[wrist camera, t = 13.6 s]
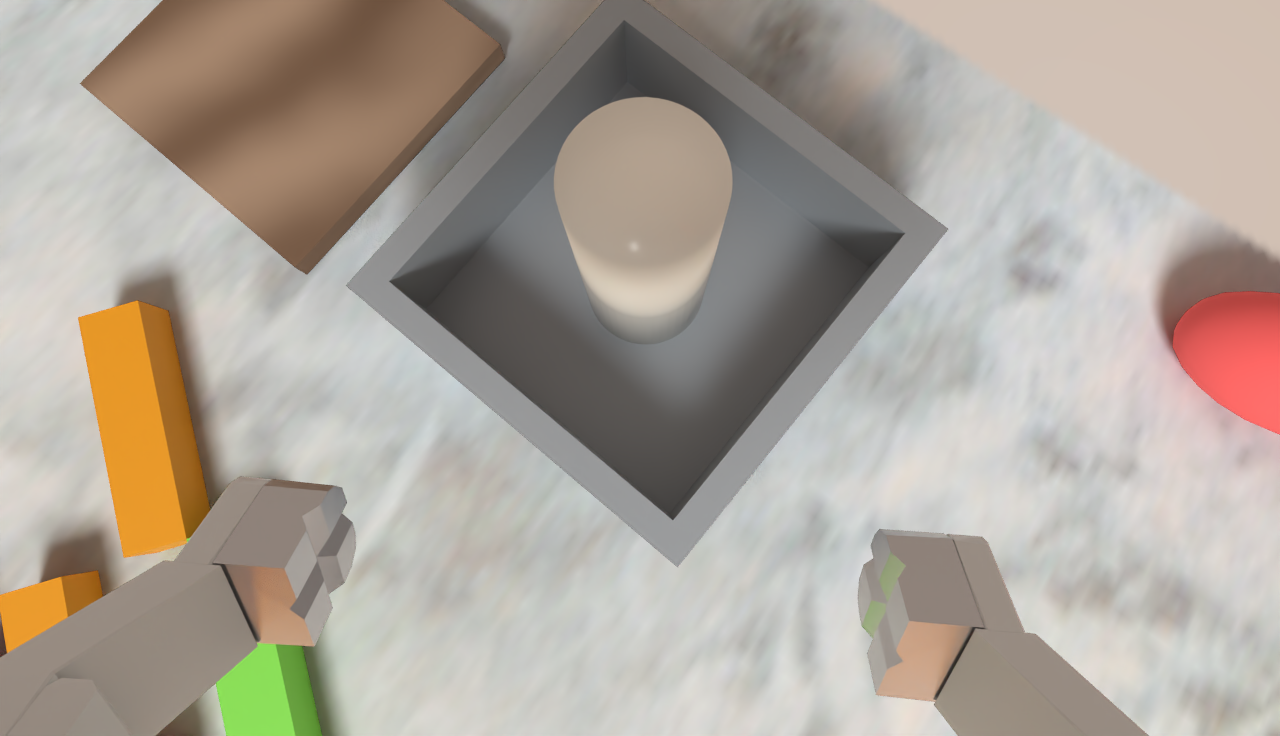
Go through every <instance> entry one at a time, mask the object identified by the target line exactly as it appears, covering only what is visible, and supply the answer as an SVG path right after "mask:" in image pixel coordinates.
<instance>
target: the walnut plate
mask: <svg viewBox="0 0 1280 736" xmlns="http://www.w3.org/2000/svg"><path fill="white" fill-rule="evenodd" d="M504 59H505V57H504V54H503V51H502V48H501V45H500V44H499V43H498V42H497V41H495V40H494V39H493V38H491V37H490V36H489V35H488V34H486V33H485V32H484V31H482V30H481V29H480V28H479V27H477V26H476V25H475V24H473V23H472V22H471V21H470V20H468V19H467V18H466V17H465V16H463V15H462V14H461V13H459V12H458V11H457V10H456V9H454V8H453V7H452V6H450V5H449V4H448V3H447V2H445V1H444V0H163V1H162V2H161V3H160V4H159V5H158V6H157V7H156V8H155V9H154V10H153V11H152V12H151V13H150V14H149V15H148V16H147V17H146V18H145V19H144V20H143V21H142V22H141V23H140V24H139V25H138V26H137V27H136V28H135V29H134V30H133V31H132V32H131V33H130V34H129V35H128V36H127V37H126V38H125V39H124V40H123V41H122V42H121V43H120V44H119V45H118V46H117V47H116V48H115V49H114V50H113V51H112V52H111V53H110V54H109V55H108V56H107V57H106V58H105V59H104V60H103V61H102V62H101V63H100V64H99V65H98V66H97V67H96V68H95V69H94V70H93V71H92V72H91V73H90V74H89V75H88V76H87V77H86V78H85V79H84V80H83V81H82V82H81V83H80V84H81V85H82V86H83V87H84V88H86V89H87V90H88V91H89V92H90V93H92V94H93V95H94V96H95V97H96V98H97V99H99V100H100V101H101V102H102V103H103V104H104V105H106V106H107V107H108V108H109V109H110V110H111V111H113V112H114V113H115V114H116V115H117V116H118V117H120V118H121V119H122V120H123V121H124V122H125V123H127V124H128V125H129V126H130V127H131V128H132V129H134V130H135V131H136V132H137V133H138V134H140V135H141V136H142V137H143V138H144V139H145V140H147V141H148V142H149V143H150V144H151V145H152V146H154V147H155V148H156V149H157V150H158V151H159V152H161V153H162V154H163V155H164V156H165V157H166V158H168V159H169V160H170V161H171V162H172V163H173V164H175V165H176V166H177V167H178V168H179V169H180V170H182V171H183V172H184V173H185V174H186V175H188V176H189V177H190V178H191V179H192V180H193V181H195V182H196V183H197V184H198V185H199V186H200V187H202V188H203V189H204V190H205V191H206V192H207V193H209V194H210V195H211V196H212V197H213V198H214V199H216V200H217V201H218V202H219V203H220V204H221V205H223V206H224V207H225V208H226V209H227V210H228V211H230V212H231V213H232V214H233V215H234V216H235V217H237V218H238V219H239V220H240V221H241V222H243V223H244V224H245V225H246V226H247V227H248V228H250V229H251V230H252V231H253V232H254V233H255V234H257V235H258V236H259V237H260V238H261V239H262V240H264V241H265V242H266V243H267V244H268V245H269V246H271V247H272V248H273V249H274V250H275V251H276V252H278V253H279V254H280V255H281V256H282V257H283V258H285V259H286V260H287V261H288V262H289V263H291V264H292V265H293V266H294V267H295V268H297V269H299V270H300V271H302V272H304V273H305V274H308V273H309V272H310V271H311V270H312V269H313V268H314V266H315V265H316V264H317V263H318V262H319V261H320V260H321V259H322V258H323V257H324V256H325V254H326V253H327V252H328V251H329V250H330V249H331V248H332V247H333V246H334V245H335V244H336V242H337V241H338V240H339V239H340V238H341V237H342V236H343V235H344V234H345V233H346V232H347V230H348V229H349V228H350V227H351V226H352V225H353V224H354V223H355V222H356V221H357V220H358V218H359V217H360V216H361V215H362V214H363V213H364V212H365V211H366V210H367V209H368V208H369V206H370V205H371V204H372V203H373V202H374V201H375V200H376V199H377V198H378V197H379V196H380V194H381V193H382V192H383V191H384V190H385V189H386V188H387V187H388V186H389V185H390V183H391V182H392V181H393V180H394V179H395V178H396V177H397V176H398V175H399V174H400V173H401V171H402V170H403V169H404V168H405V167H406V166H407V165H408V164H409V163H410V162H411V161H412V159H413V158H414V157H415V156H416V155H417V154H418V153H419V152H420V151H421V150H422V149H423V147H424V146H425V145H426V144H427V143H428V142H429V141H430V140H431V139H432V138H433V137H434V135H435V134H436V133H437V132H438V131H439V130H440V129H441V128H442V127H443V126H444V125H445V123H446V122H447V121H448V120H449V119H450V118H451V117H452V116H453V115H454V114H455V113H456V111H457V110H458V109H459V108H460V107H461V106H462V105H463V104H464V103H465V102H466V101H467V99H468V98H469V97H470V96H471V95H472V94H473V93H474V92H475V91H476V90H477V88H478V87H479V86H480V85H481V84H482V83H483V82H484V81H485V80H486V79H487V78H488V76H489V75H490V74H491V73H492V72H493V71H494V70H495V69H496V68H497V67H498V66H499V64H500V63H501V62H502V61H503V60H504Z"/></svg>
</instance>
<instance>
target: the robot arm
mask: <svg viewBox="0 0 1280 736" xmlns="http://www.w3.org/2000/svg"><path fill="white" fill-rule="evenodd" d="M346 504H347V501H346V498H345V495H344V492H343V489H342V488H341V487H338V486H332V485H322V484H313V483H304V482H294V481H285V480H276V479H262V478H252V477H242V476H240V477H239V478H237V479H236V480H234V481H232V482H231V483H230V484H229V485H228V486H227V488H226V489H225V491H224V492H223V493H222V495H221V496H220V498H219V499H218V500H217V502H216V503H215V505H214V506H213V507H212V509H211V510H210V511H209V513H208V514H207V516H206V517H205V518H204V520H203V521H202V523H201V524H200V525H199V527H198V528H197V530H196V531H195V532H194V534H193V535H192V536H191V538H190V539H189V541H188V542H187V543H186V545H185V546H184V548H183V549H182V550H181V552H180V553H179V555H178V556H177V557H176V559H175V560H174V561H162V562H161V563H159V564H157V565H155V566H154V567H152V568H150V569H149V570H147V571H145V572H144V573H142V574H140V575H139V576H137V577H135V578H134V579H132V580H130V581H128V582H127V583H125V584H123V585H122V586H120V587H118V588H117V589H115V590H113V591H112V592H110V593H108V594H106V595H105V596H103V597H101V598H100V599H98V600H96V601H95V602H93V603H91V604H90V605H88V606H86V607H84V608H83V609H81V610H79V611H78V612H76V613H74V614H73V615H71V616H69V617H68V618H66V619H64V620H63V621H61V622H59V623H57V624H56V625H54V626H52V627H51V628H49V629H47V630H46V631H44V632H42V633H41V634H39V635H37V636H35V637H34V638H32V639H30V640H29V641H27V642H25V643H24V644H22V645H20V646H19V647H17V648H15V649H14V650H12V651H10V652H8V653H7V654H5V655H3V656H2V657H0V736H155V735H157V734H158V733H159V732H160V731H161V730H162V729H164V728H165V727H166V726H167V725H168V724H169V723H170V722H172V721H173V720H174V719H175V718H176V717H177V716H178V715H180V714H181V713H182V712H183V711H184V710H185V709H187V708H188V707H189V706H190V705H191V704H192V703H193V702H195V701H196V700H197V699H198V698H199V697H200V696H201V695H203V694H204V693H205V692H206V691H207V690H208V689H210V688H211V687H212V686H213V685H214V684H215V683H216V682H218V681H219V680H220V679H221V678H222V677H223V676H224V675H226V674H227V673H228V672H229V671H230V670H231V669H233V668H234V667H235V666H236V665H237V664H238V663H239V662H241V661H242V660H243V659H244V658H245V657H246V656H247V655H249V654H250V653H251V652H252V651H253V650H254V649H256V648H257V647H258V645H257V643H264V644H281V645H298V646H315V644H316V642H317V640H318V638H319V636H320V634H321V632H322V630H323V627H324V625H325V623H326V621H327V619H328V617H329V615H330V613H331V611H332V609H333V607H332V603H331V600H330V597H329V594H330V593H331V592H332V591H334V590H335V589H337V588H338V587H339V586H341V585H342V584H343V583H345V581H346V578H347V576H348V574H349V572H350V569H351V567H352V563H353V558H354V554H355V549H356V535H355V530H354V526H353V523H352V522H351V521H350V520H349V519H348V518H347V517H346V516H344V515H343V514H342V512H343V510H344V508H345V506H346ZM871 549H872V553H873V559H872V560H870V561H869V562H867V563H866V564H864V565H863V569H862V572H861V575H860V578H859V588H858V607H859V615H860V620H861V625H862V627H863V628H864V629H865V630H866V631H867V632H868V634H869V635H870V636H871V637H872V638H873V640H872V642H871V645H870V647H869V650H868V652H867V655H868V659H869V664H870V669H871V674H872V678H873V683H874V688H875V692H876V695H880V696H889V697H898V698H906V699H915V700H924V701H933V702H935V703H934V705H935V707H936V708H937V709H938V711H939V712H940V713H941V714H942V716H943V717H944V718H945V720H946V721H947V722H948V724H949V725H950V726H951V727H952V729H953V730H954V731H955V733H956V734H957V735H958V736H1149V735H1147V734H1146V733H1145V732H1144V731H1143V730H1142V729H1141V728H1140V727H1139V726H1137V725H1136V724H1135V723H1134V722H1133V721H1132V720H1131V719H1130V718H1129V717H1127V716H1126V715H1125V714H1124V713H1123V712H1122V711H1121V710H1120V709H1119V708H1117V707H1116V706H1115V705H1114V704H1113V703H1112V702H1111V701H1110V700H1109V699H1107V698H1106V697H1105V696H1104V695H1103V694H1102V693H1101V692H1100V691H1099V690H1097V689H1096V688H1095V687H1094V686H1093V685H1092V684H1091V683H1090V682H1089V681H1087V680H1086V679H1085V678H1084V677H1083V676H1082V675H1081V674H1080V673H1079V672H1077V671H1076V670H1075V669H1074V668H1073V667H1072V666H1071V665H1070V664H1069V663H1067V662H1066V661H1065V660H1064V659H1063V658H1062V657H1061V656H1060V655H1059V654H1057V653H1056V652H1055V651H1054V650H1053V649H1052V648H1051V647H1050V646H1049V645H1047V644H1046V643H1045V642H1044V641H1043V640H1042V639H1041V638H1040V637H1039V636H1037V635H1036V634H1032V633H1025V631H1024V629H1023V626H1022V624H1021V621H1020V619H1019V617H1018V614H1017V612H1016V609H1015V607H1014V605H1013V602H1012V600H1011V597H1010V595H1009V592H1008V590H1007V588H1006V585H1005V583H1004V580H1003V578H1002V576H1001V573H1000V571H999V568H998V566H997V563H996V561H995V559H994V556H993V554H992V551H991V549H990V547H989V544H988V542H987V541H986V540H985V539H984V538H983V537H978V536H965V535H952V534H947V535H945V534H944V533H929V532H915V531H900V530H886V529H879V530H878V532H877V533H876V534H875V535H874V538H873V541H872V543H871Z"/></svg>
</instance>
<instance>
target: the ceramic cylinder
mask: <svg viewBox="0 0 1280 736" xmlns="http://www.w3.org/2000/svg"><path fill="white" fill-rule="evenodd" d="M732 185H733V180H732V169H731V163H730V159H729V156H728V153H727V150H726V148H725V146H724V144H723V142H722V140H721V139H720V137H719V136H718V134H717V133H716V131H715V130H714V129H713V128H712V127H711V126H710V125H709V124H708V123H707V122H706V121H705V120H704V119H703V118H702V117H701V116H699V115H698V114H696V113H695V112H693V111H692V110H690V109H688V108H686V107H684V106H682V105H680V104H678V103H675V102H672V101H669V100H664V99H660V98H651V97H635V98H628V99H623V100H619V101H615V102H612V103H610V104H607V105H605V106H603V107H601V108H599V109H597V110H595V111H594V112H592V113H591V114H589V115H588V116H587V117H585V118H584V119H583V120H582V121H581V122H580V123H579V124H578V125H577V126H576V127H575V128H574V129H573V130H572V132H571V133H570V134H569V136H568V137H567V139H566V141H565V142H564V144H563V146H562V148H561V150H560V153H559V155H558V158H557V162H556V166H555V172H554V192H555V199H556V203H557V206H558V210H559V213H560V216H561V219H562V222H563V225H564V227H565V230H566V233H567V236H568V239H569V242H570V245H571V248H572V251H573V254H574V257H575V260H576V263H577V266H578V269H579V272H580V275H581V278H582V281H583V283H584V286H585V289H586V292H587V295H588V298H589V301H590V304H591V307H592V309H593V312H594V314H595V316H596V317H597V319H598V320H599V322H600V323H601V324H602V325H603V326H604V327H605V328H606V329H607V330H608V331H609V332H610V333H612V334H613V335H615V336H616V337H618V338H620V339H622V340H625V341H627V342H631V343H635V344H656V343H661V342H664V341H667V340H669V339H672V338H674V337H675V336H677V335H679V334H680V333H681V332H683V331H684V330H685V329H686V328H687V327H688V326H689V325H690V324H691V323H692V321H693V320H694V319H695V317H696V315H697V313H698V312H699V309H700V307H701V304H702V300H703V297H704V293H705V289H706V286H707V282H708V279H709V275H710V272H711V268H712V264H713V261H714V257H715V254H716V250H717V247H718V243H719V239H720V236H721V232H722V229H723V225H724V221H725V218H726V214H727V211H728V207H729V203H730V199H731V195H732Z"/></svg>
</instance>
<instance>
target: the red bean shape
mask: <svg viewBox="0 0 1280 736" xmlns="http://www.w3.org/2000/svg"><path fill="white" fill-rule="evenodd" d="M1173 349H1174V351H1175V353H1176V355H1177V357H1178V359H1179V362H1180V364H1181V366H1182V367H1183V368H1184V370H1185V371H1186V372H1187V373H1188V375H1189V376H1190V377H1191V378H1192V379H1193V381H1194V382H1195V383H1196V384H1197V385H1198V386H1199V387H1200V388H1201V389H1202V390H1203V391H1205V392H1206V393H1207V394H1208V395H1209V396H1210V397H1212V398H1213V399H1214V400H1215V401H1216V402H1217V403H1219V404H1220V405H1222V406H1223V407H1225V408H1227V409H1228V410H1230V411H1232V412H1233V413H1235V414H1236V415H1238V416H1240V417H1241V418H1243V419H1244V420H1247V421H1249V422H1251V423H1254V424H1256V425H1258V426H1261V427H1263V428H1265V429H1268V430H1270V431H1272V432H1275V433H1277V434H1280V293H1269V292H1254V291H1244V292H1225V293H1221V294H1218V295H1214V296H1211V297H1208V298H1205V299H1203V300H1201V301H1199V302H1198V303H1196V304H1195V305H1194V306H1192V307H1191V308H1190V309H1189V310H1187V311H1186V312H1185V313H1184V315H1183V316H1182V317H1181V319H1180V320H1179V322H1178V323H1177V325H1176V327H1175V329H1174V336H1173Z"/></svg>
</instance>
